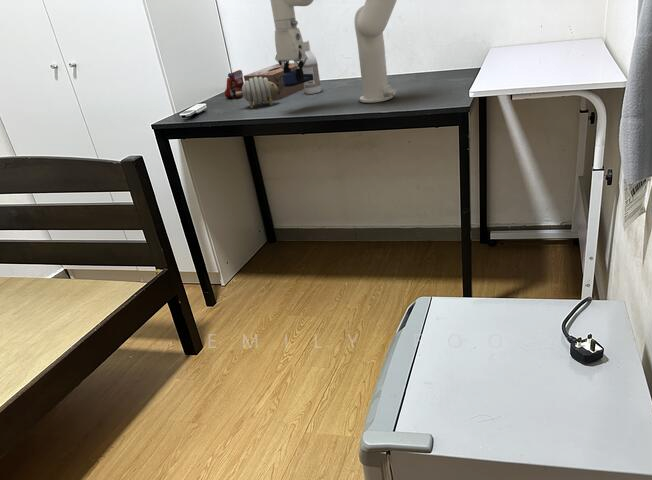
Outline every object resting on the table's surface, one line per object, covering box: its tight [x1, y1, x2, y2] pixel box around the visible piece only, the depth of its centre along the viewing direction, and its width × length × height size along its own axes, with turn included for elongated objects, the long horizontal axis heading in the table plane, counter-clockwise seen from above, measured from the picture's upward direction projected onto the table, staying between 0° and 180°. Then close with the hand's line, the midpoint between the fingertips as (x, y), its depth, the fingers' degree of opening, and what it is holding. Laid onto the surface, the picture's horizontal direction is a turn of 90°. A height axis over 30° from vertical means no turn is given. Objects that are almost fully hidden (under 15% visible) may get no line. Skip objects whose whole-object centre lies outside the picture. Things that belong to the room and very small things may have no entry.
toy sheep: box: [235, 77, 278, 109], centre depth 221 cm, size 11×17×11 cm, turn 106°
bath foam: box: [301, 40, 322, 95], centre depth 230 cm, size 7×7×20 cm
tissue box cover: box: [243, 62, 305, 101], centre depth 240 cm, size 26×14×10 cm, turn 155°
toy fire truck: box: [224, 69, 245, 99], centre depth 244 cm, size 7×12×10 cm, turn 158°
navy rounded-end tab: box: [282, 71, 314, 87], centre depth 202 cm, size 12×5×4 cm, turn 145°
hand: (294, 79), depth 202 cm, fingers closed on navy rounded-end tab, 5 cm apart
